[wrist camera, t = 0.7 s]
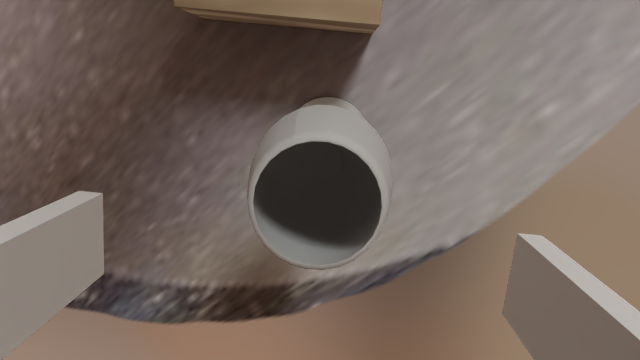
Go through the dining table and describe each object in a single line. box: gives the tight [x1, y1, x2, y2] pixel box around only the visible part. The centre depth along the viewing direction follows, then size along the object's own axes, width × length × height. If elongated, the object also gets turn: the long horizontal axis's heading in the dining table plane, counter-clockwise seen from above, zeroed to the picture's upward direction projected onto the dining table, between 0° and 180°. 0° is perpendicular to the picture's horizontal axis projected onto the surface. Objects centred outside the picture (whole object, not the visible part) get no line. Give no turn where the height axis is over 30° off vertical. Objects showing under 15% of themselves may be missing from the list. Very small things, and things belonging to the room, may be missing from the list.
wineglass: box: [247, 97, 392, 270], centre depth 30 cm, size 8×8×21 cm
